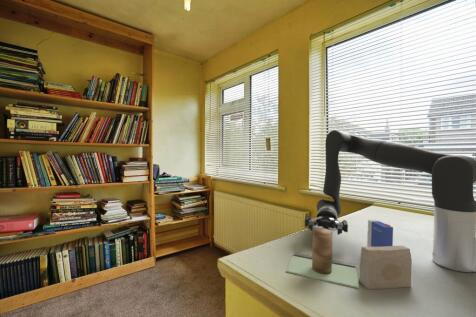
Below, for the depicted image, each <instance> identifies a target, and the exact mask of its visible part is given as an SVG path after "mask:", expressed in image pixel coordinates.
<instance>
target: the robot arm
mask: <svg viewBox="0 0 476 317" xmlns="http://www.w3.org/2000/svg"><path fill="white" fill-rule="evenodd" d="M341 152H342V153H349V154H355V155H359V156H362V157H364V158H365V159H367V160H369V161H372V162H374V163H376V164H381V165H384V166H387V167H392V168H396V169H402V170H410V171H417V172H422V173H425V174H429V175H431V196H432V198H433V202H434V205H433V206H434V208H433V234H432V237H433V238H432V261H433V262H434V263H436V265H438V266H440V267H443V268H446V269H449V270H451V271H455V272H456V271H457V272H461V273H473V272H474V273H476V200H475V197H474V183H476V159H474V158H472V157H470V156H467V155H461V154H460V155H458V154H457V155H456V154H450V153H449V154H448V153H441V152H435V151H429V150H426V149H421V148H419V147H415V146H412V145H408V144H404V143H400V142H397V141H391V140H387V139H377V138H366V137H365V138H364V137H361V136H357V135H354V134H352V133H349V132H346V131H341V130H337V129H333V130H331V131H329V133H328V134H327V135H326V138H325V174H324V182H323V188H322V189H323V190H322V192H323V194H324V195H326V196H328V197H330V198H332V199H333V200H328V199H325V198H324V199H323V198H322V199H319V200H318V201H317V203H316V212H317V214H316V217H314V218H313V217H311V216H310V215H307V216H306V217H305V218H304V227H307V228H308V230H309V231H311V232H313V229H315V228H324V229H328V230H331V231H332V230H333V231H337V235H339V236H340V235H342V234H343V232H345V233H348V232H349V224H348V221H347V220H346V219H343V220H342V221H339V220H338V217H340V215H341V213H342V206H341V200H340V192H341V186H342V185H341V184H342V174H341V170H340V166H339V154H340V153H341Z"/></svg>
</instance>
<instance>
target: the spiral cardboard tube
mask: <svg viewBox="0 0 476 317" xmlns="http://www.w3.org/2000/svg"><path fill="white" fill-rule="evenodd" d="M311 251H312V253H311V254H312V255H311V256H312V259H311V260H312V269H313V270H314V271H315V272H317V273H320V274H330V273H331V272H332V264H333V263H332V260H333V231H332V229H331V230H328V229H324V228H321V227H320V228H315V227H314V228H313V230H312V250H311Z"/></svg>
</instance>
